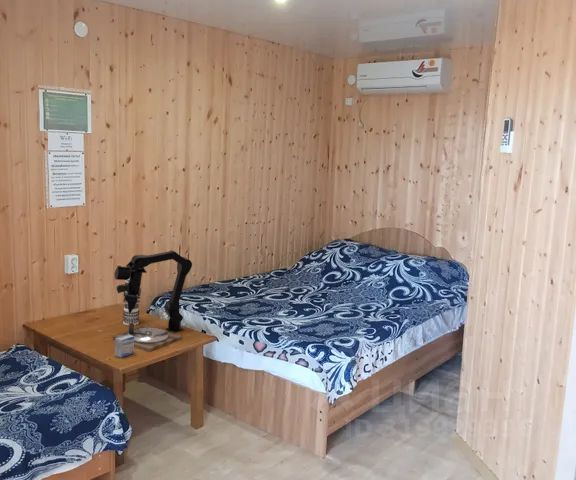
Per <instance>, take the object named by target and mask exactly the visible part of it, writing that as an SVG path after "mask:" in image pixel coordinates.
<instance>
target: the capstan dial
mask: <svg viewBox="0 0 576 480" xmlns="http://www.w3.org/2000/svg"><path fill="white" fill-rule="evenodd" d="M134 328H135V325H134V324H133V323H130V324H129V325H128V332H129V333H128V335H132V336H134V342H138V343H158V342H162V341H164V340H166V339H167V338H168V333H167V332H168V331H167V330H164V329H161V328H157V327H155V328H141V327H138V328H139V329H138V328H135V329H134ZM166 331H167V332H166Z"/></svg>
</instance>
